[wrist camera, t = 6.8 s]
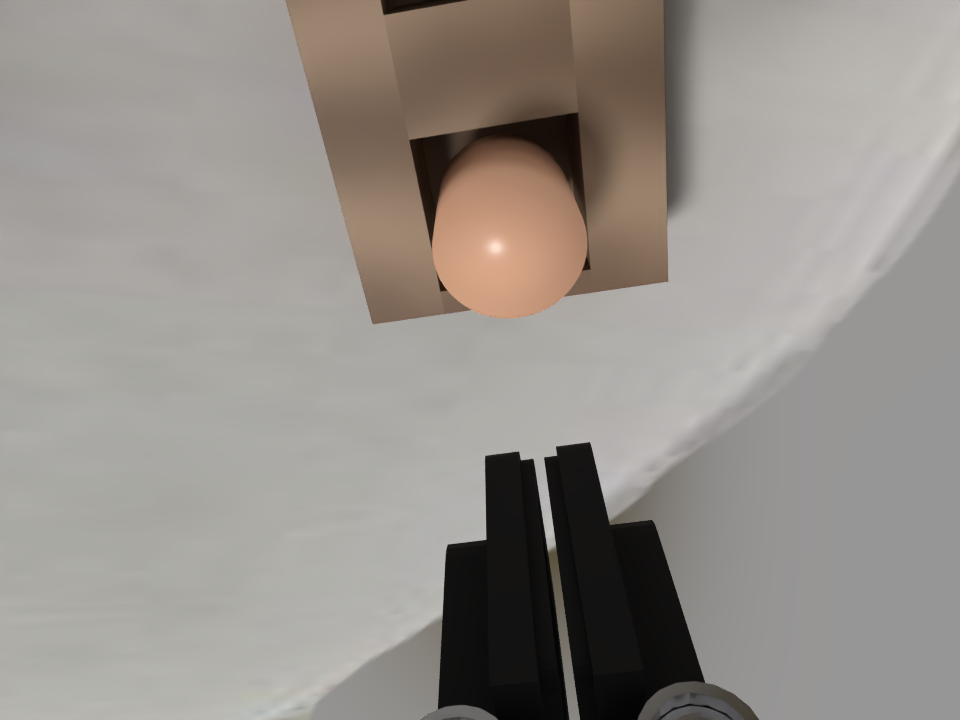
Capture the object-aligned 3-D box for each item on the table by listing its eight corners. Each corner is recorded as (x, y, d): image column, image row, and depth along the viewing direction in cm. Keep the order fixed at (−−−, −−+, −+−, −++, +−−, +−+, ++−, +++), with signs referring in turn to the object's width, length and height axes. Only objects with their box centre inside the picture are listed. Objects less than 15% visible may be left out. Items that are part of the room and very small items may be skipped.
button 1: (427, 145, 25) (417, 185, 21) (562, 123, 25) (580, 160, 21) (450, 269, 28) (447, 327, 24) (574, 250, 27) (592, 307, 23)
